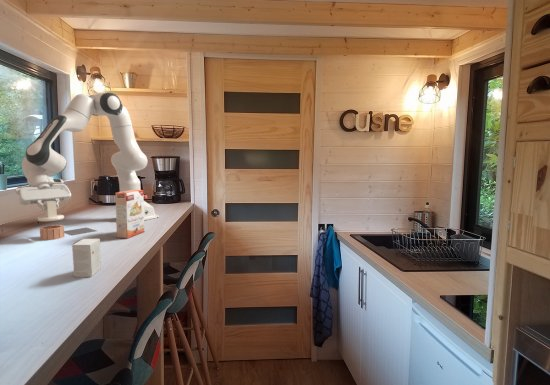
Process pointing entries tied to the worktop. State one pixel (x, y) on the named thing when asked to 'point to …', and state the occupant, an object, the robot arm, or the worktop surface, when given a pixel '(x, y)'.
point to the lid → (50, 212)
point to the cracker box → (129, 213)
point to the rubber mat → (79, 231)
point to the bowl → (52, 232)
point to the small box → (86, 257)
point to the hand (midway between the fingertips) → (51, 208)
